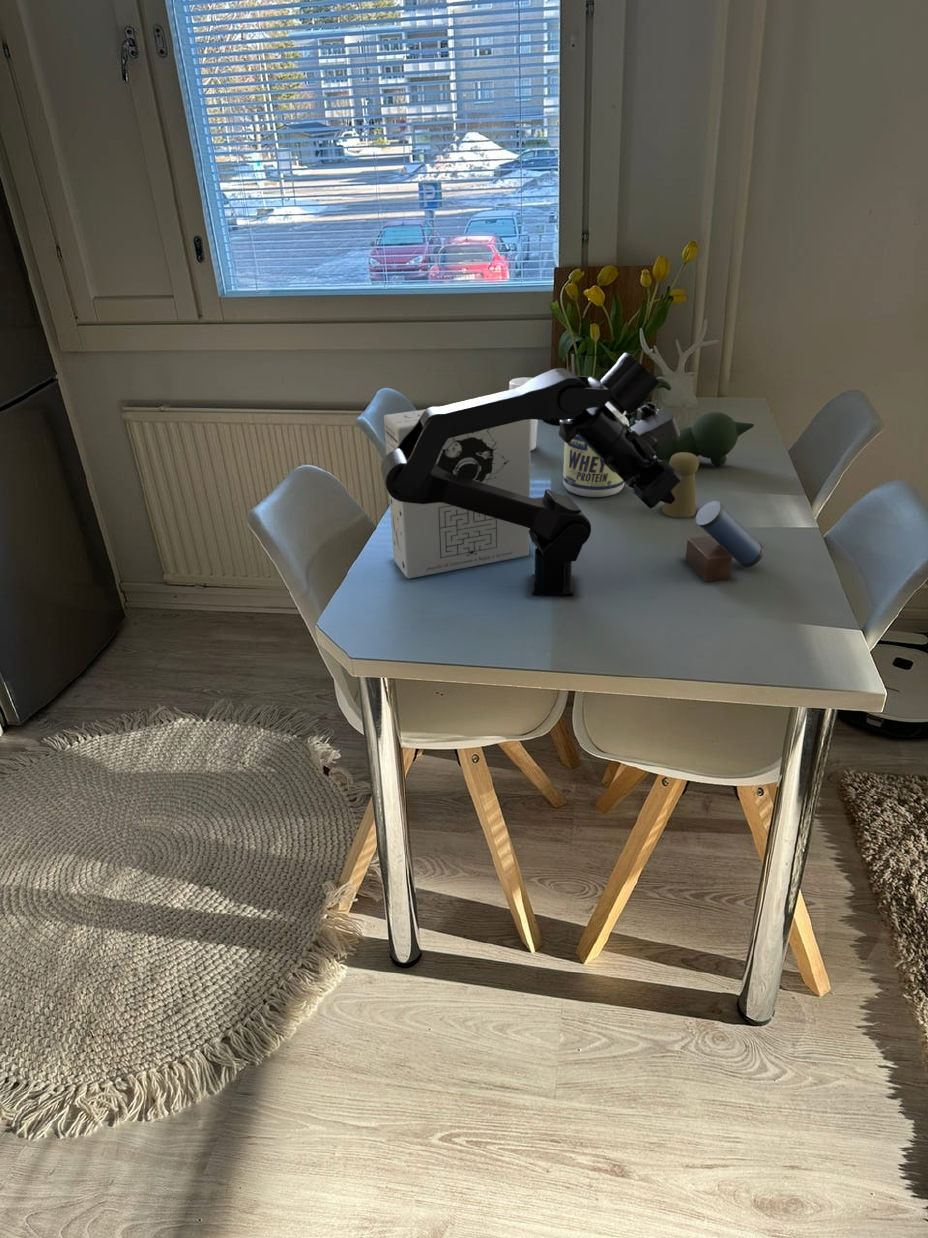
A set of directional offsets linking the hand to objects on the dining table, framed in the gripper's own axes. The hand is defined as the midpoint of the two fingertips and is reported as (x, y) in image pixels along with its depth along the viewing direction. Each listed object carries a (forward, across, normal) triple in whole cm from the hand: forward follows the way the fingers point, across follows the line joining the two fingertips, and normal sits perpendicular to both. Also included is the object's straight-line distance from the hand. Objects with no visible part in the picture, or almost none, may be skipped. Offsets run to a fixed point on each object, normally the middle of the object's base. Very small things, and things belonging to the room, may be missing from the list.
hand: (672, 501), depth 134 cm
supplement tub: (+10, +39, +8) cm, 41 cm away
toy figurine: (+26, +48, -8) cm, 55 cm away
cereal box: (-13, +14, +31) cm, 36 cm away
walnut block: (+14, 0, +4) cm, 14 cm away
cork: (+18, +24, 0) cm, 30 cm away
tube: (+12, 0, -3) cm, 12 cm away
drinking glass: (+5, +66, +13) cm, 67 cm away
